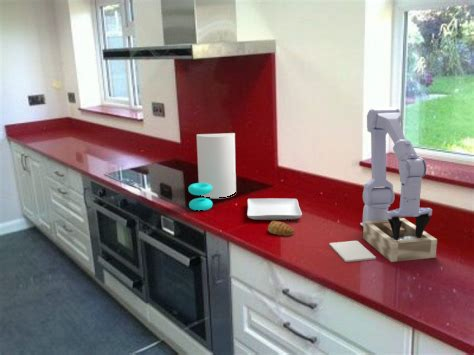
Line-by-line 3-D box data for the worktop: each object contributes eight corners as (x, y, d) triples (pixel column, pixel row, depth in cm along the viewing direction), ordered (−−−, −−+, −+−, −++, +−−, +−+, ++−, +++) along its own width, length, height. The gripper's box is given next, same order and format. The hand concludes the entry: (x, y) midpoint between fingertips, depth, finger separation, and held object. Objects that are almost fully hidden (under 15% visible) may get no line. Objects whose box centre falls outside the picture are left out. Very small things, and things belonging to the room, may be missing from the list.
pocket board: (362, 237, 165) (363, 221, 163) (402, 234, 167) (403, 218, 166) (391, 262, 146) (392, 243, 144) (435, 257, 148) (437, 239, 147)
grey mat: (329, 244, 160) (329, 243, 160) (357, 242, 161) (357, 240, 161) (345, 262, 146) (345, 260, 146) (375, 259, 148) (376, 257, 148)
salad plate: (302, 222, 182) (302, 214, 181) (247, 223, 182) (247, 214, 182) (296, 205, 202) (297, 197, 202) (247, 206, 203) (247, 198, 202)
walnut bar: (381, 228, 162) (382, 223, 161) (393, 227, 163) (394, 222, 162) (391, 236, 155) (392, 230, 155) (404, 235, 156) (404, 229, 156)
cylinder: (237, 197, 214) (236, 136, 207) (199, 199, 213) (196, 137, 206) (234, 187, 231) (233, 130, 223) (199, 188, 230) (196, 131, 222)
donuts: (190, 181, 204) (213, 182, 203) (191, 204, 206) (214, 204, 205) (185, 188, 194) (209, 188, 193) (186, 211, 197) (210, 211, 196)
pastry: (297, 232, 172) (297, 222, 171) (288, 238, 166) (288, 228, 165) (275, 227, 177) (275, 218, 176) (265, 233, 172) (265, 223, 171)
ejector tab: (374, 232, 162) (374, 227, 161) (401, 229, 163) (401, 225, 163) (394, 248, 148) (394, 243, 148) (423, 245, 150) (424, 240, 150)
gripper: (394, 202, 142) (392, 244, 145) (439, 198, 144) (435, 240, 147) (383, 195, 148) (381, 236, 152) (426, 192, 151) (422, 232, 154)
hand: (407, 238), depth 150 cm, fingers open, 7 cm apart
